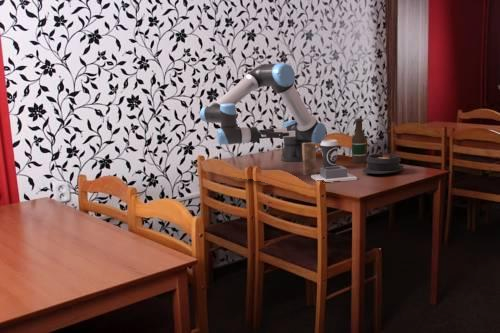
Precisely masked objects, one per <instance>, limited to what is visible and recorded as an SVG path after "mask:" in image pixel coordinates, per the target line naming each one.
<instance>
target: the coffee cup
mask: <svg viewBox="0 0 500 333" xmlns="http://www.w3.org/2000/svg"><path fill="white" fill-rule="evenodd" d="M319 145H320V148H321V155H322V164H323V165H322V167H332V166H338V165H337V162H338V149H339V148H338V147H339V146H340V145H339V142H338V140H337V139H324V140H322V142H321V143H319Z"/></svg>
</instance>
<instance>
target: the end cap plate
mask: <svg viewBox="0 0 500 333" xmlns="http://www.w3.org/2000/svg"><path fill="white" fill-rule="evenodd" d="M310 177H311V179H313V180H314V181H316V182H318V181H317V180H324V181H325V182H331V183H334V182H333V181H341V182H347V181H348V182H349V181H357V180H358V177H357V176H355V175H353V174H350V173H349V172H348V168H347V167H345V166H343V165H336V166H332V167H324V166H322V167H319V174H315V175H310Z"/></svg>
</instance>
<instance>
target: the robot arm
mask: <svg viewBox="0 0 500 333" xmlns="http://www.w3.org/2000/svg"><path fill="white" fill-rule="evenodd" d="M295 74H296V73H295V70H294V68H293V67H292V66H291V64H288V63H286V62H279V63H278V62H277V63H263V64H260V65H258V66H256V67H255V68H252V70H250V71H249V72H247V73H246V74H245V75H244V76H243V79H242V80H241V81H239V82H238V83H237V84H236V85H234V86H233V87H232V88H231V89H229V91H226V92H225V94H224V95H222V96H221V97H219V98H218V100H216V101H215V102H213V103H212V104H211V105H209V106H204V107H202V108H201V109H200V112H199V117H200V120H201V121H203V122H205V123H217V124H220V128H219V129H217V132H216V138H217V143H218V144H219V145H238V144H242V145H245V144H246V143H247V144H248V143H251V144H253V143H258V142H259V139H281V140H283V149H282V154H281V156H280V157H281V161H282V162H290V163H291V162H293V163H294V162H303V156H302V143H310V142H314V143H315V144H316V145H317V144H319V145H320V144H321V142H322V140H325V137H326V134H327V128H326V125H325V124H324V123H322V122H319V121H318V120H317V118H316V117H315V116H313V115H311V113H310V112H309V110H308V107H307V106H306V104H305V103H304V101H303V100H302V98H301V96H300V94H299V93H298V90H297V89H296V87H295V79H296V76H295ZM262 87H271V88H272V89H273V91H274V93H276V94H279V95H280V97H281V99H282V100H283V102H284V104H285V105H286V107H287V109H288V110H289V112H290V114H291V116H292V117H293V120H285V121H284V122H283V127H282V128H281V127H279V128H277V127H276V128H274V127H270V128H265V129H264V128H263V129H258V127H257V126H249V127H248V126H247V127H246V126H245V127H238V125H237V122H238V120H237V108H236V107H237V106H236V105H237V104H238V103H240V102H241V101H242V100H243V99H244V98H246V97H247V96H248V95H249V94H250V93H252V91H253V92H255V91H257V90H258V89H260V88H262Z"/></svg>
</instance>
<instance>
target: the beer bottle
mask: <svg viewBox="0 0 500 333" xmlns="http://www.w3.org/2000/svg"><path fill="white" fill-rule="evenodd" d="M363 132H364V131H363V119H362V118H356V119H355V132H354V134H353V136H352V140H351V162H352V164H355V163H356V165H357V164H359V165H361V164H366V163H367V161H366V159H367V138H366V136H365V135H364V133H363Z"/></svg>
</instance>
